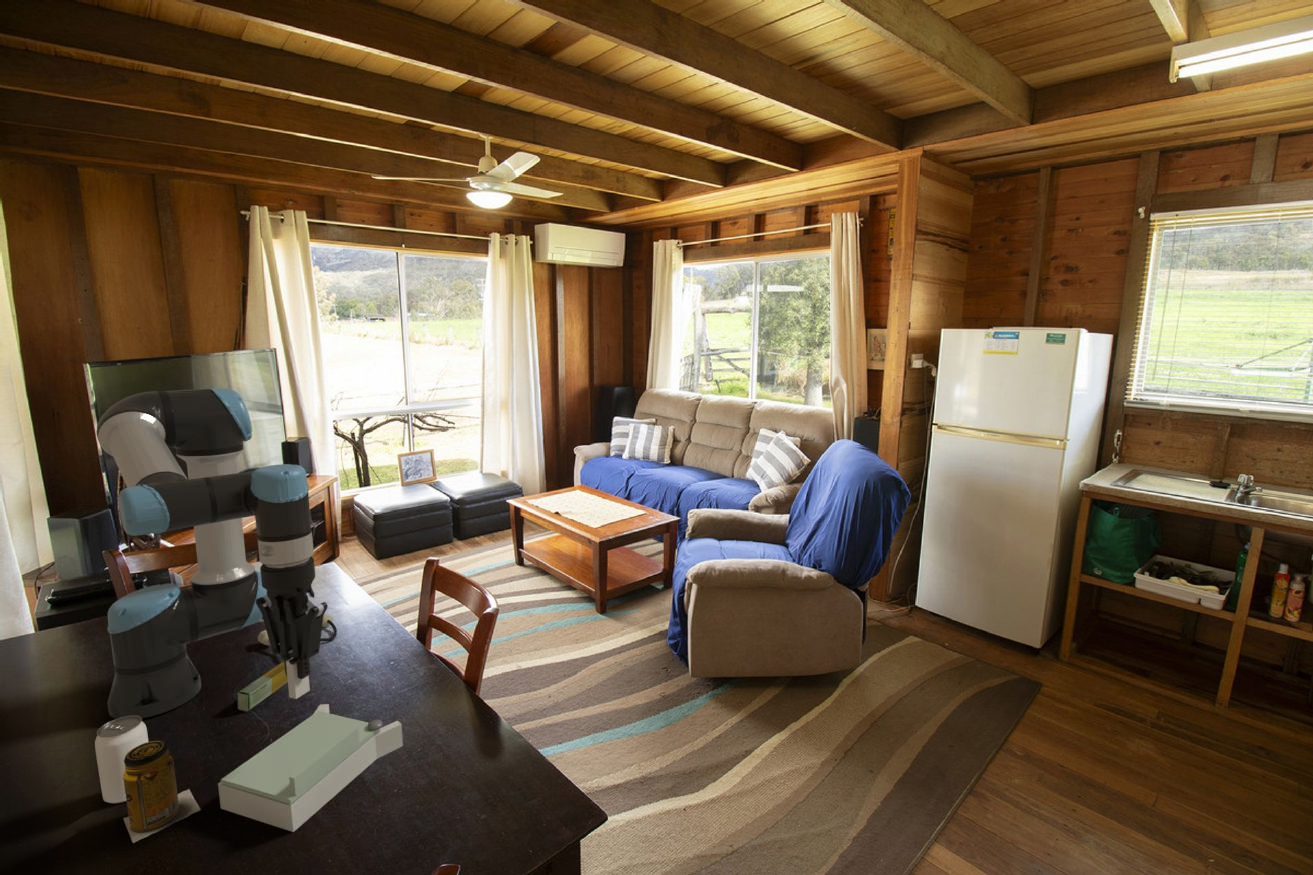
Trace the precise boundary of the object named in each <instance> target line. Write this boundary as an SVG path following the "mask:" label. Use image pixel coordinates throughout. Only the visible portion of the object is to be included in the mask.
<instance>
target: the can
mask: <svg viewBox="0 0 1313 875" xmlns="http://www.w3.org/2000/svg"><path fill="white" fill-rule="evenodd" d="M96 735H97V736H96V738H95V740H94V747H95V756H96V763H97V769H98V776H99V783H100V789H101V793H102V794H101V795H102V799H103V801H104V802H106V803H108V804H121V803H127V800H126V793H125V786H124V780H123V775H124V772H125V763H124V759H125V756H126V755H127V753H128V752H129V751H131V750H132V749H134V748H135V747H137V746H139V745H141V744H144V743H147V742H149V737H148V735H149V734H148V729H147V726H146V724H145V722H144V721H143V718H141V717H140V716H136V715H131V716H125V717H121V718H118V719H115V718H114V719H113V720H110V721H108V722H107V723H104V724H103V725H102V726H100V728H98V730H97V731H96Z"/></svg>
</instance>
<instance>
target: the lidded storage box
mask: <svg viewBox="0 0 1313 875" xmlns="http://www.w3.org/2000/svg"><path fill="white" fill-rule="evenodd" d="M318 711H321V712H325V713H329V714H331V713H330V704H329V703H328V704H327V703H325V704H324V703H321V704H319V705H318V706H317V708H316V709H315V711H314V713H313V714H315V713H316V712H318ZM402 726H403V724H402V723H401V722H400V721H399V720H395V721H394V722H391V723H389V724H387V725H385V726H382V727H381V728H380V730H379V731H378V732H377V733H376V734H374V735H373V736H372V737H371V738H370V739H368V740H367V741H366V742H365V743H364V744H362V745H361V746H360V747H359V748H358V749H356V750H355V751H354V752H353V753H352V754H350V755H349V756H348V757H347V758H346V759H344V760H343V761H342V762H341V763H340V764H338V765H337V766H336V767H335V768H334V769H332V770H331V771H330V772H329V773H328V774H326V775H325V776H324V777H323V778H322V779H321V780H319V781H318V782H317V783H316V784H315V785H313V786H312V787H311V788H310V789H309V790H307V791H306V792H305V793H304V794H303V795H301V796H300V797H299V798H298V799H297V800H295V801H294V802H293V803H292V804H288V803H284V802H281V801H278V800H274V799H271V798H267V797H264V796H261V795H257V794H254V793H250V792H247V791H244V790H240V789H237V788H234V787H230V786H227V785H223V784H221V781H220V782H218V783H217V787H218V794H219V795H218V796H219V803H220V804H219V806H220V809H221V810H225V811H227V812H231V813H233V814H236V815H239V816H242V817H246V818H250V819H252V820H254V821H259V822H261V823H264V824H267V825H271V826H273V827H276V828H280V829H283V830H286V831H289V832H292V833H294V832H295V831H297V830H298V828H300V827H301V826H302V825H303V824H305V823H306V822H307V821H308V820H309V819H310V818H312V816H313V815H315V814H317V812H319V811H320V809H322V808H323V807H324V806H325V805H326V804H327V803H328V802H330V800H332V799H333V798H334V797H335V796H336V795H338V794H339V793H340V792H341V791H342V790H343V789H344V788H346V786H348V785H349V784H350V783H351V782H352V781H354V780H355V779H356V778H357V777H358V776H359V775H360V774H361V773H363V772H364V771H365V770H366V769H367V768H368V767H370V766H371V765H372V764H373V763H374V762H375V761H376V760H377V759H379V758H381V757H383V756H385V755H388V754H390V753H391V752H393V751H396V750H398V749H400V748H402V747H403V746H404V742H403V729H402V728H403V727H402Z"/></svg>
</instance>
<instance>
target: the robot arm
mask: <svg viewBox="0 0 1313 875" xmlns="http://www.w3.org/2000/svg"><path fill="white" fill-rule="evenodd" d="M252 427H253V426H252V421H251V418H250V414H249V411H248V409H247V405H246V404H245V402H244V400H243V398H242V396H241V395H240V394H239V393H238V392H237V391H236V390H234V389H231V388H213V387H212V388H198V389H197V388H195V389H179V390H178V389H177V390H161V391H160V390H159V391H157V390H155V391H154V390H153V391H152V390H151V391H143V392H139V393H136V394H132V395H130V396H127V397H125V398H122V399H121V400H119V401H117V402H116V403H114V404H112V405H111V406H110V407H109V408H108V409H107V410H106V411H105V412H104V413H103V414H102V416H101V417H100V418H99V420H98V423H97V425H96V430H95V431H96V432H95V433H96V438H97V441H98V443H99V445H100V448H102V450H103V451H104V452H105V453H107V454H108V455H110V456H111V457H113V458H114V461H115V464H116V465H117V468H118V471H119V472H120V475H121V477H122V479H123V481H124V483H125V486H126V487H125V488H124V489H122V490H120V492H119V494H118V507H119V515H120V520H121V523H122V527H123V530H124V532H125V534H127V535H129V536H133V537H134V536H135V537H137V536H143V535H151V534H152V535H153V534H155V535H158V534H163V533H165V532H170V531H175V530H176V531H177V530H181V529H187V528H191V527H192V528H193V531H194V532H193V533H194V540H195V549H196V550H195V551H196V558H197V568H198V569H197V570H196V571H195V572H194V573H193V574H192V575H191V576H190V586H188V587H186V588H180V587H179V586H178V584H175V583H164V584H161V583H160V584H156V585H155V584H154V585H150V586H146V587H143V588H140V589H138V590H135V591H133V592H130V593H128V594H126V595H124V596H122V597H121V598H118V600H116V601H115V602H113V603H112V605H111V606H110V607H109V608H108V611H107V623H108V624H107V627H106V628H107V629H106V630H107V632H108V633H109V637H110V645H111V653H112V660H113V667H114V677H113V679H112V680H113V681H112V685H111V688H110V691H109V692H110V693H109V696H108V699H107V709H108V710H107V711H108V714H109V716H110V717H111V718H113V719H114V720H115V719H118V718H121V717H125V716H131V715H136V716H140V717H141V718H142V719H145V718H150V717H154V716H157V715H161V714H163V713H166V712H169V711H171V710H174V709H176V708H178V707H180V706H182V705H184V704H185V703H187V702H189V701H190V700H192V699H193V698H195V696H197V694H199V692H200V691H201V688H202V680H201V675H200V673H199V671H198V670H197V668H196V666H194V664H193V662H192V660H191V659H190V657H189V655H188V652H187V650H188V649H187V644H191V643H194V642H198V641H200V640H203V639H208V638H212V637H214V636H215V637H216V636H218V635H222V634H225V633H228V632H229V633H230V632H232V631H239V630H241V629H244V628H245V627H247V626H251V625H255V624H256V623H259V622H258V621H259V620H260V619H261V618H262V617H263V620H264V622H263V624H264V626H265V630H266V631H267V634H268V638H269V641H270V645H269V646H270V648H271V652H272V653H273V655H276V656H277V654H279V656H280V658H281V659H282V660H283V663H284V665H285V674H286V676H287V679H288V682H287V685H288V686H287V687H288V698H291V699H295V700H297V699H298V698H300V697H302V696H303V695H305V694H306V693H309V691H310V690H311V688H310V677H309V675H310V674H311V668H310V667H311V666H310V659H311V658H312V657H314V656H316V655H318V654H319V653H320V647H321V641H320V640H321V638H322V631H323V627H322V624H323V616H324V614H326V611H327V610H328V603H327V602H326V601H324V602H321V603H320V601H318V600H316V598H315V592H314V590H313V587H312V584H313V582H314V580H315V578H316V567H315V566H316V565H315V559H314V558H313V555H314V542H313V533H312V532H313V531H312V524H311V523H312V522H311V511H310V510H311V507H310V496H309V495H310V494H309V491H310V485H309V483H308V478H307V472H306V470H305V468H304V467H303V466H302V465H298V464H291V463H290V464H289V463H287V464H286V463H284V464H274V465H273V464H271V465H265V466H262V467H258V466H256V467H255V466H254V467H253V466H252V467H247V468H245V469H243V470H241V471H239V472H238V466H237V463H238V462H237V457H239V455H240V454H242V452H244V448H245V447H244V443H245V442H248V441H250V440H251V439H252V437H253V433H252V432H253V428H252ZM174 448H175V453H176V454H175V455H176V456H177V457H178V458H180V460H183V461H184V462H185V463H186V466H187V469H186V470H187V476H186V474H185V472H184V471H183V470H182V467H181V465H179V462H178V461H177V459H176V457H175V456H174V455H173V453H172V451H171V450H170V449H174ZM250 517H254V519H255V527H256V539H257V545H258V547H257V548H258V555H259V556H258V557H259V558H258V559H259V562H261V563H262V566H261V567H260V571H261V572H259V571H255V567H254V566H253V565H252V563H250V562H248V561H247V558H246V557H247V556H246V547H245V546H246V545H245V537H244V528H243V527H244V526H243V518H250Z"/></svg>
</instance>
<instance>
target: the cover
mask: <svg viewBox="0 0 1313 875" xmlns="http://www.w3.org/2000/svg"><path fill="white" fill-rule="evenodd" d="M314 713H315V712H314ZM314 713H313V714H312V715H311V716H309V717H308V718H306V719H305V720H303V721H302V722H300V723H299V724H298V725H297V726H295V727H294V728H292V729H291V730H289V731H288V732H286V733H285V734H284V735H282V736H281V737H279V738H278V739H276V740H275V741H274V742H272V743H271V744H269V745H267V746H266V747H265V748H264V749H262V750H261V751H259V752H258V753H256V754H255V755H253V756H252V757H250V758H249V759H248V760H247V761H245V762H243V763H242V764H240V765H239V766H238V767H236V768H235V769H234V770H233V771H231V772H229V773H228V774H227V775H225V776H224V777H222V778H221V779H220V782H221V784H223V785H227V786H230V787H234V788H237V789H240V790H244V791H247V792H250V793H254V794H257V795H261V796H264V797H267V798H271V799H274V800H278V801H281V802H284V803H288V804H292V803H293V802H294V801H295V800H297V799H298V798H299V797H300V796H301V795H303V794H304V793H305V792H306V791H307V790H309V789H310V788H311V787H312V786H313V785H315V784H316V783H317V782H318V781H319V780H321V779H322V778H323V777H324V776H325V775H326V774H328V773H329V772H330V771H331V770H332V769H334V768H335V767H336V766H337V765H338V764H340V763H341V762H342V761H343V760H344V759H346V758H347V757H348V756H349V755H350V754H352V753H353V752H354V751H355V750H356V749H358V748H359V747H360V746H361V745H362V744H364V743H365V742H366V741H367V740H368V739H370V738H371V737H372V736H373V735H374V734H376V733H377V732H378V731H379V730H380V728H382V727H383V721H382V720H381V719H373V720H371V721H370V722H367V721H364V720H358V719H355V718H349V717H345V716H342V715H338V714H333V713H330V712H329V713H330V714H329V713H325V712H321V711H318V712H316V713H315V714H314Z"/></svg>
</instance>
